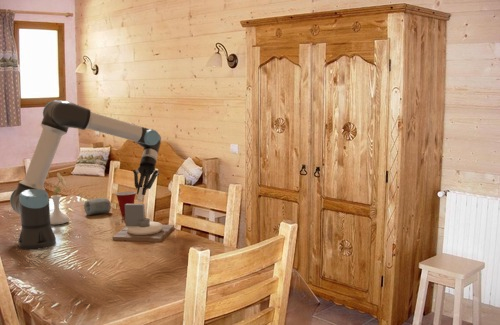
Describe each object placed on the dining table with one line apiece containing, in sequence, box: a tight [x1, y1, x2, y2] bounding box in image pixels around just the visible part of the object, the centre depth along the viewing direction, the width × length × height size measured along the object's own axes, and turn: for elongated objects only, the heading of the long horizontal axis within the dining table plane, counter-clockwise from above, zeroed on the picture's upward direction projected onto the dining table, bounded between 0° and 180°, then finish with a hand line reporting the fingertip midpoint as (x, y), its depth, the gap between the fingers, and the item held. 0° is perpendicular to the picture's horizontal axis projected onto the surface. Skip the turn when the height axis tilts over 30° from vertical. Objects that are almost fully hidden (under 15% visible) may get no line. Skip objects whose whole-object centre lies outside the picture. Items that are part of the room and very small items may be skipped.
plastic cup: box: [115, 191, 137, 217], centre depth 287 cm, size 11×11×12 cm
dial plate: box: [112, 224, 175, 243], centre depth 251 cm, size 22×22×2 cm
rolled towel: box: [83, 197, 112, 216], centre depth 289 cm, size 14×10×10 cm
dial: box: [124, 203, 163, 235], centre depth 250 cm, size 16×16×12 cm
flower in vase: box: [50, 172, 70, 225], centre depth 270 cm, size 13×11×25 cm
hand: (139, 200), depth 258 cm, fingers closed
